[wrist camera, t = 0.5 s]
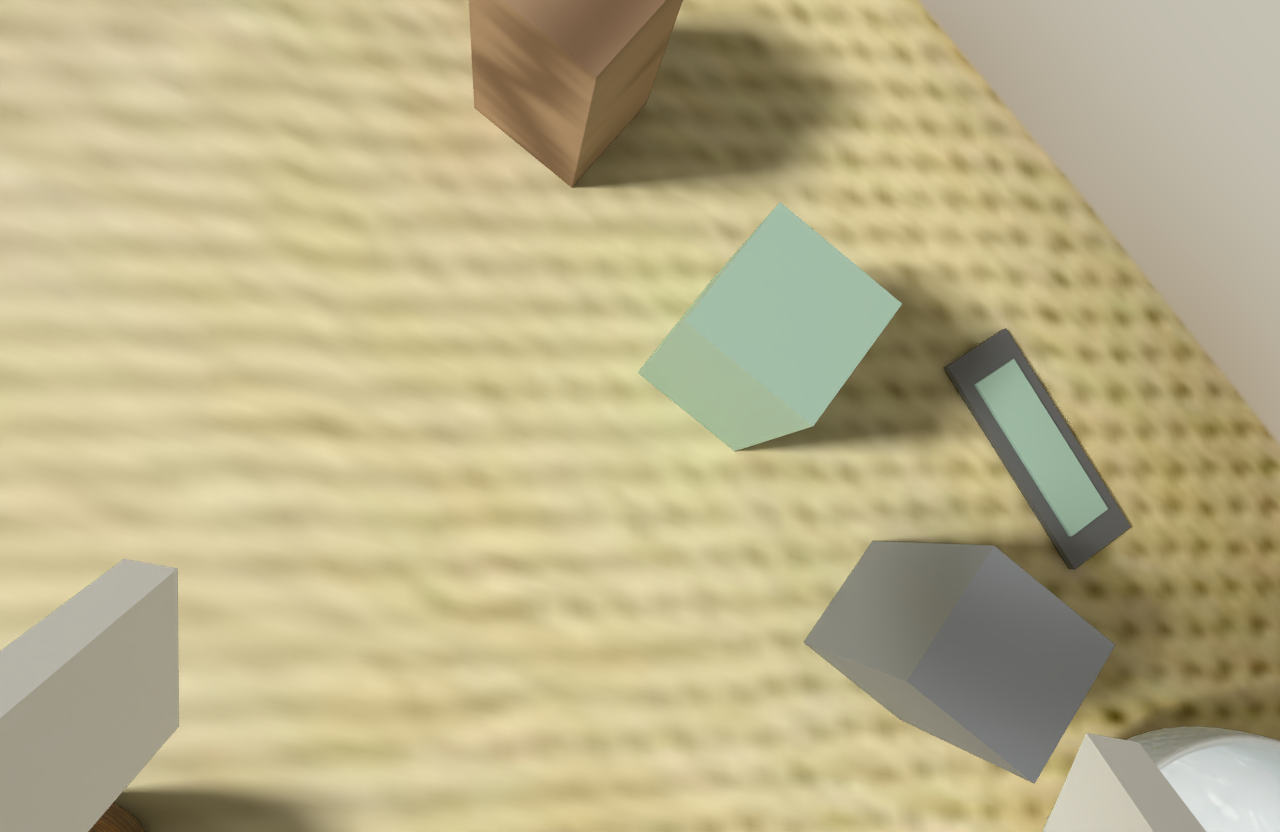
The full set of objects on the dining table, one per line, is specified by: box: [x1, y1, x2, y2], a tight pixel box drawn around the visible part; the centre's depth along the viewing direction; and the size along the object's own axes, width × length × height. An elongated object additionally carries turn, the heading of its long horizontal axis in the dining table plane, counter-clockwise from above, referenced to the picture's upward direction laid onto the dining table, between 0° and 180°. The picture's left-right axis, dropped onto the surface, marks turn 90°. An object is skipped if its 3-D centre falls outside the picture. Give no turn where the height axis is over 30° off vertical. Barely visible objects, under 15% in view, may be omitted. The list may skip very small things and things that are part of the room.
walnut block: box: [469, 0, 683, 187], centre depth 35 cm, size 6×6×10 cm
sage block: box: [638, 202, 902, 451], centre depth 35 cm, size 6×6×10 cm
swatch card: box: [944, 329, 1131, 569], centre depth 42 cm, size 12×4×1 cm, turn 32°
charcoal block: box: [804, 541, 1115, 784], centre depth 35 cm, size 6×6×10 cm
